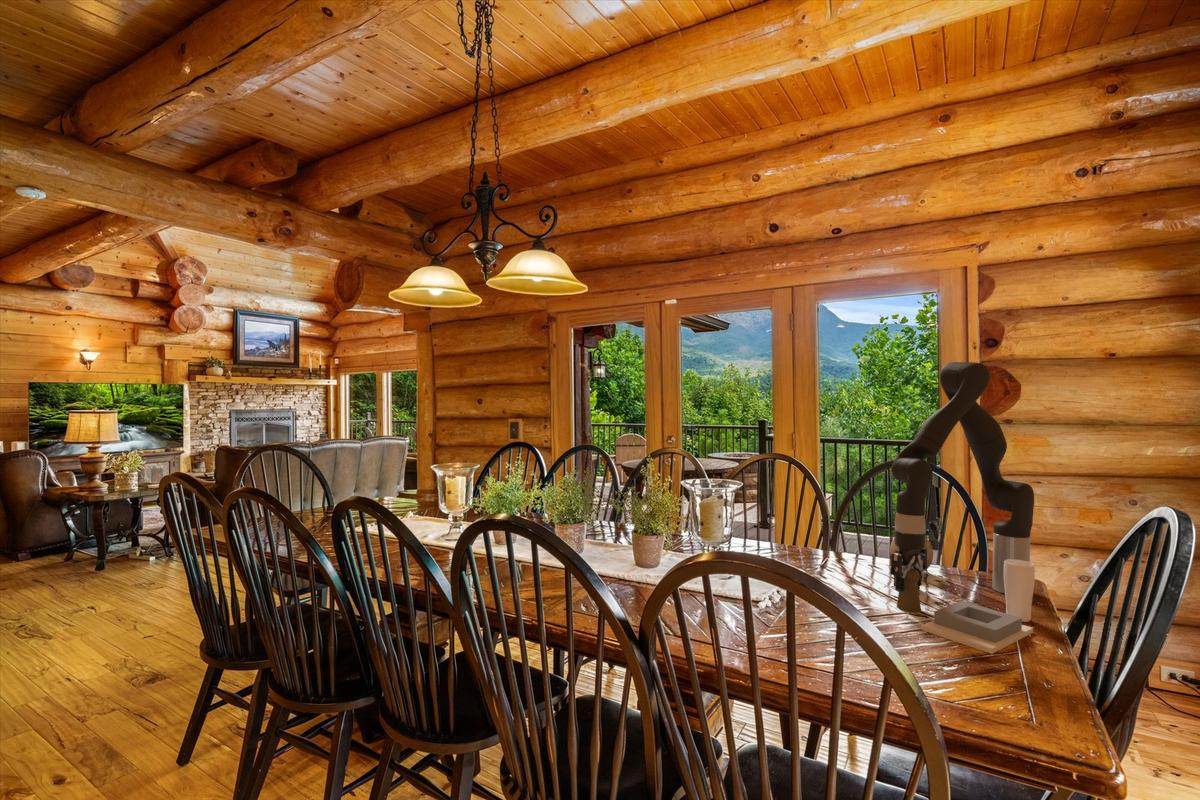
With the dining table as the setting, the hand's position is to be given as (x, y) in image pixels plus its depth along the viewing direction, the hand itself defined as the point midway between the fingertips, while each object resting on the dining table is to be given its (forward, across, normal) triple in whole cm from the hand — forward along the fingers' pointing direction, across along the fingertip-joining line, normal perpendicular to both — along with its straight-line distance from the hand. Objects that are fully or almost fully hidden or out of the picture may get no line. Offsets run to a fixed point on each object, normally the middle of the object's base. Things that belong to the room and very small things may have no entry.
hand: (908, 588), depth 164 cm
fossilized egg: (+6, -32, -17) cm, 37 cm away
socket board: (+6, +1, +18) cm, 19 cm away
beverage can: (+6, -15, -9) cm, 19 cm away
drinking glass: (+6, -17, +20) cm, 27 cm away
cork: (+6, 0, 0) cm, 6 cm away
